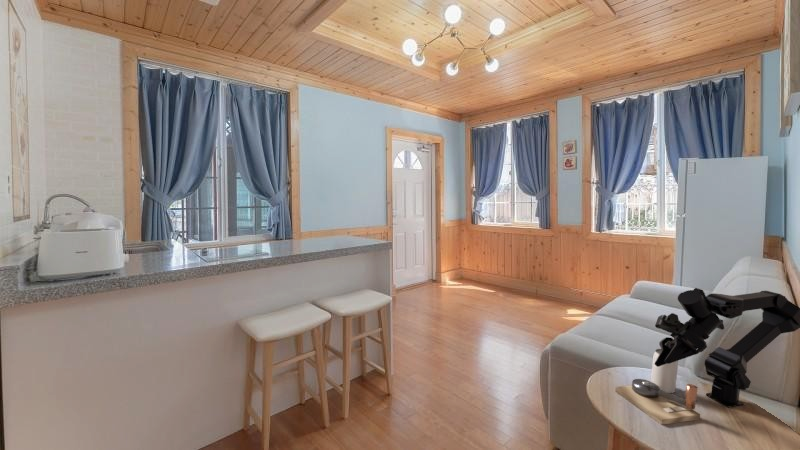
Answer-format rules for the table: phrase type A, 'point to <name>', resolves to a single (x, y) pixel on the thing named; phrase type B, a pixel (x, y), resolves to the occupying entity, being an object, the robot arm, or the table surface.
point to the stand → (658, 407)
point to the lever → (654, 391)
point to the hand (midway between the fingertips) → (660, 363)
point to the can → (664, 374)
